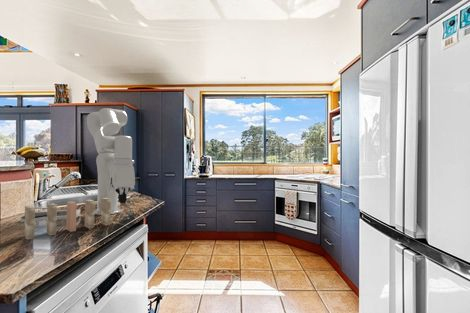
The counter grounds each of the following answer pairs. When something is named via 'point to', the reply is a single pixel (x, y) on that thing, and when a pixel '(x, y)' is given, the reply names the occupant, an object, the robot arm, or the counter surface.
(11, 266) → the counter surface
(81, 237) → the counter surface
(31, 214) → the birch domino
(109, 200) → the birch domino
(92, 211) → the birch domino
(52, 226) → the birch domino
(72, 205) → the terracotta domino
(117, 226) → the counter surface
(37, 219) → the picture frame
